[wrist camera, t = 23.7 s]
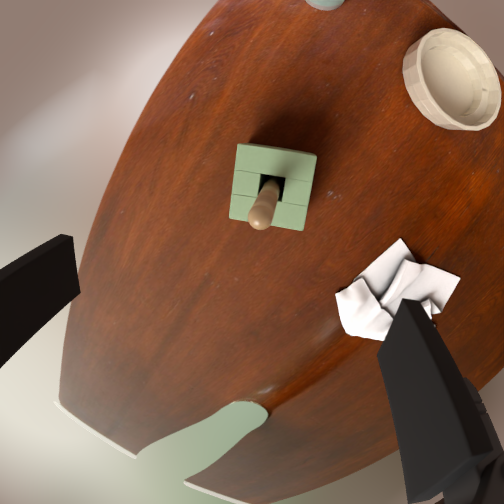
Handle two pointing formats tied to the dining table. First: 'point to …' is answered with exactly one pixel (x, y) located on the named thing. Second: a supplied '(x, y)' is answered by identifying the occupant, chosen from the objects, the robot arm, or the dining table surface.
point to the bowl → (452, 80)
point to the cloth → (391, 292)
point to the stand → (278, 164)
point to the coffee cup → (325, 4)
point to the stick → (265, 204)
